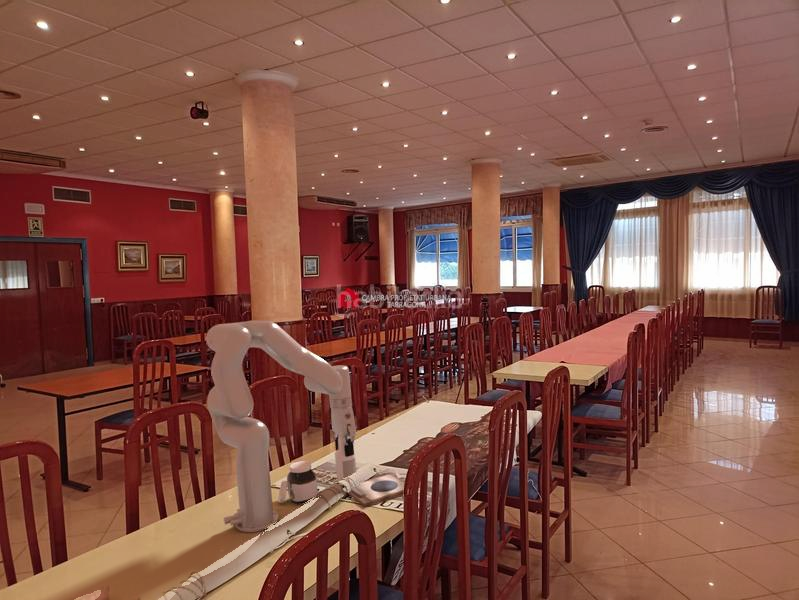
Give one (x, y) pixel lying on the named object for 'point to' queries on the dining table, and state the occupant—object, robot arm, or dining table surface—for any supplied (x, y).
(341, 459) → the spray bottle
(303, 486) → the spread jar
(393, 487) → the square pad with disc
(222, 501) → the dining table surface
